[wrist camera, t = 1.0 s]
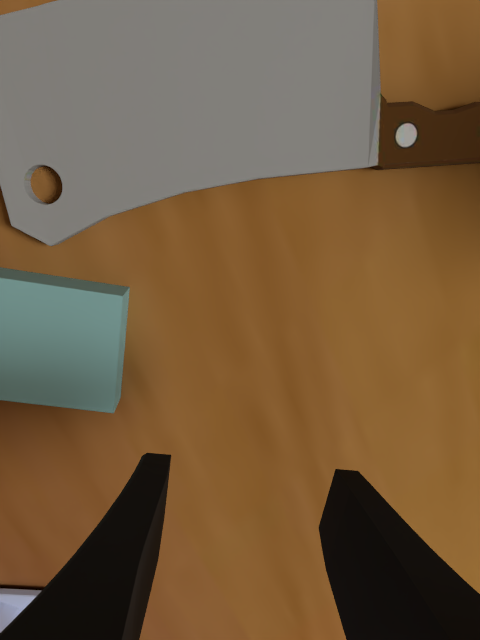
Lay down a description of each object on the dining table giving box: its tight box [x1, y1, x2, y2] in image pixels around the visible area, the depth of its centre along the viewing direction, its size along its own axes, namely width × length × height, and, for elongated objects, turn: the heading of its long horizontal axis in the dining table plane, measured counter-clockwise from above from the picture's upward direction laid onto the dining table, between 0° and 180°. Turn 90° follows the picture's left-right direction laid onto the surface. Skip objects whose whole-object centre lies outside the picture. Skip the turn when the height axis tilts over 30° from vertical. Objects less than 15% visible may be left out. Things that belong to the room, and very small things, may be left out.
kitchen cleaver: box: [0, 0, 480, 246], centre depth 14 cm, size 24×1×10 cm
